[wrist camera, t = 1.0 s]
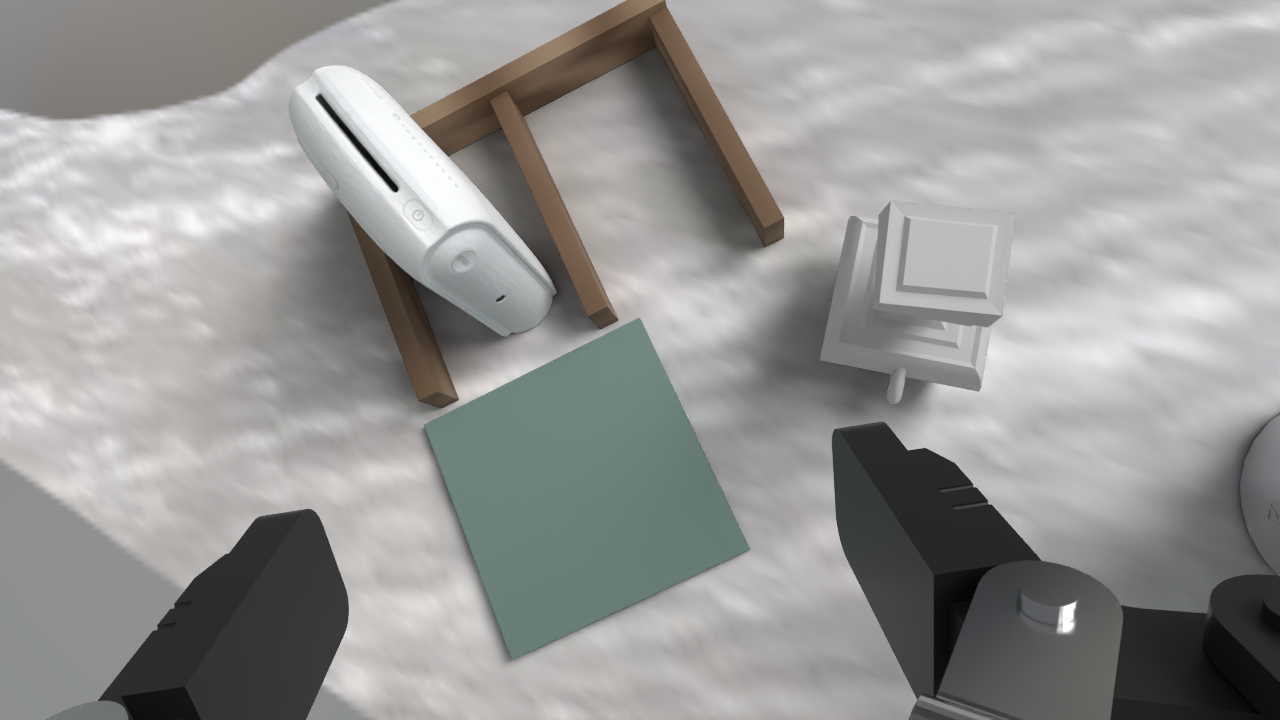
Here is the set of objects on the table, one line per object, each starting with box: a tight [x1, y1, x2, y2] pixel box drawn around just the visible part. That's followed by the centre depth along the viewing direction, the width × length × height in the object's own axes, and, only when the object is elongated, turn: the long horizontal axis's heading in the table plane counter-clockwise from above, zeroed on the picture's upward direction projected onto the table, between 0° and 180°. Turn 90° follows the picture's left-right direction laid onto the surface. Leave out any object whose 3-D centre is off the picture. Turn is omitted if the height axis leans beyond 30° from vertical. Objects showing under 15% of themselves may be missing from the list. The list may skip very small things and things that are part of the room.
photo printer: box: [289, 65, 557, 337], centre depth 33 cm, size 10×4×12 cm, turn 40°
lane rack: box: [347, 0, 784, 408], centre depth 37 cm, size 19×14×3 cm
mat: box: [424, 318, 750, 660], centre depth 35 cm, size 12×12×1 cm
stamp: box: [820, 201, 1015, 404], centre depth 31 cm, size 9×7×8 cm
